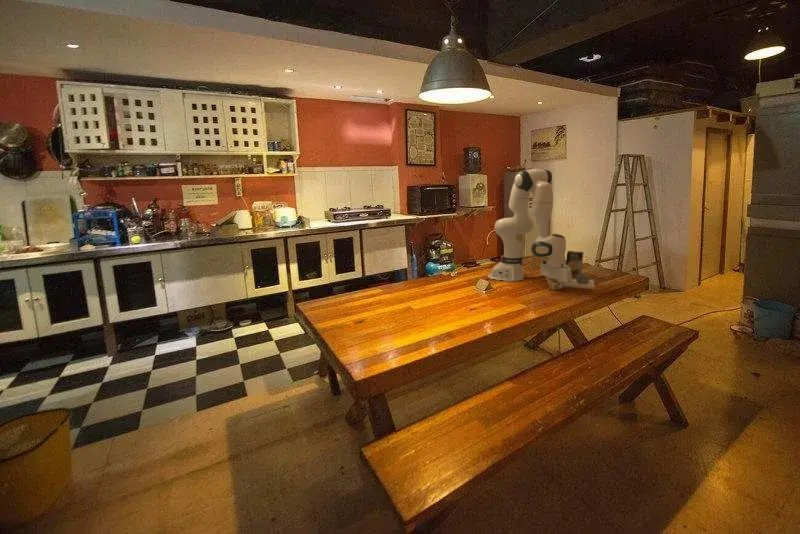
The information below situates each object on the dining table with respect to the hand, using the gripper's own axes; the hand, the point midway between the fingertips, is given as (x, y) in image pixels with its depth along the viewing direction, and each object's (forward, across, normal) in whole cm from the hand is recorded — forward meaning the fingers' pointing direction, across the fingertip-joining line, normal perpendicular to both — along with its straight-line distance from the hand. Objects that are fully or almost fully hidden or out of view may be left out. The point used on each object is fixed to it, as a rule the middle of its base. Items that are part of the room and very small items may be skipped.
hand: (555, 286), depth 227 cm
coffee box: (+2, +14, -29) cm, 32 cm away
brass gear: (+2, 0, 0) cm, 2 cm away
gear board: (+2, +1, -17) cm, 17 cm away
